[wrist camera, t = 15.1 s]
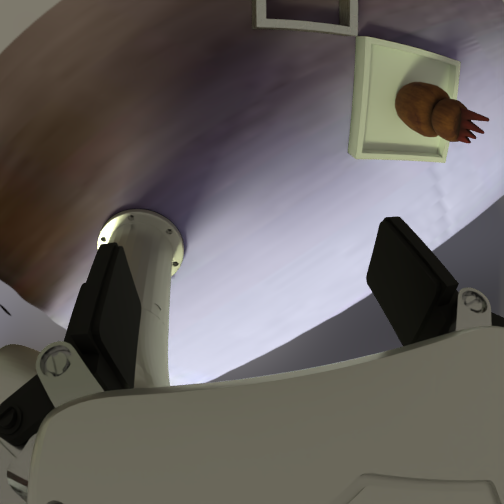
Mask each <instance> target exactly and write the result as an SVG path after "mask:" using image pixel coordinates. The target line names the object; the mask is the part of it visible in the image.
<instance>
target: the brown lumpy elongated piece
mask: <svg viewBox="0 0 504 504" xmlns="http://www.w3.org/2000/svg"><path fill="white" fill-rule="evenodd" d="M395 109H396V112H397V115H398V117H399V118H400V119H401V120H402V121H403V122H404V123H405V124H406V125H407V126H408V127H409V128H410V129H412V130H413V131H415V132H417V133H419V134H421V135H423V136H424V137H437V136H440V137H441V138H443V139H445V140H447V141H450V142H458V141H461V142H464V143H471V141H470V140H469V138H468V137H470V138H473V139H476V136H475V135H474V134H473V133H472V132H471V131H470V130H472V131H475V132H478V133H481V134H484V131H483V130H482V129H480V128H479V127H478V126H476V125H475V124H474V123H473V122H471V120H478V121H489V118H487V117H484V116H482V115H480V114H477V113H475V112H473V111H470V110H468V109H467V108H466V107H465V106H464V105H463V104H462V103H461V102H460V101H458V100H455V99H450V97H449V95H448V93H447V92H445V91H444V90H443V89H442V88H440V87H439V86H437V85H433V84H429V83H424V82H411V83H409V84H406V85H404V86H403V87H402V88H401V89H400V90H399V91H398V93H397V95H396V99H395Z"/></svg>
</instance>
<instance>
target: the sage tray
mask: <svg viewBox="0 0 504 504" xmlns="http://www.w3.org/2000/svg"><path fill="white" fill-rule="evenodd" d="M460 63H461V62H459V61H456V60H453V59H450V58H448V57H445V56H441V55H438V54H435V53H432V52H429V51H425V50H422V49H418V48H415V47H411V46H407V45H403V44H399V43H395V42H391V41H386V40H382V39H377V38H372V37H367V36H356V51H355V72H354V88H353V101H352V114H351V125H350V135H349V145H348V153H349V154H350V155H351V156H353V157H354V158H355V159H382V160H409V161H427V162H441V163H445V161H446V157H447V152H448V147H449V142H450V141H447V140H445V139H443V138H441V137H440V136H437V137H424V136H423V135H421V134H419V133H417V132H415V131H413V130H412V129H410V128H409V127H408V126H407V125H406V124H405V123H404V122H403V121H402V120H401V119H400V118H399V117H398V115H397V112H396V109H395V99H396V95H397V93H398V91H399V90H400V89H401V88H402V87H403V86H404V85H406V84H409V83H411V82H424V83H429V84H433V85H437V86H439V87H440V88H442V89H443V90H444V91H445V92H447V93H448V95H449V97H450V99H455V100H457V92H458V84H459V74H460Z"/></svg>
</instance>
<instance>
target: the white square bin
mask: <svg viewBox="0 0 504 504" xmlns="http://www.w3.org/2000/svg"><path fill="white" fill-rule="evenodd" d="M252 29H272V30H293V31H306V32H317V33H326V34H334V35H341V36H358V0H339V25H334V24H327V23H318V22H309V21H297V20H282V19H266V0H252Z"/></svg>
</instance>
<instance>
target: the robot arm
mask: <svg viewBox="0 0 504 504" xmlns="http://www.w3.org/2000/svg"><path fill="white" fill-rule="evenodd" d="M131 215H133V216H131ZM97 247H98V251H97V254H96V256H95V259H94V262H93V264H92V267H91V270H90V273H89V276H88V278H87V281H86V283H84V284H82V286H81V288H80V291H79V294H78V297H77V300H76V303H75V306H74V309H73V312H72V315H71V319H70V322H69V325H68V329H67V332H66V336H65V339H64V342H61V341H59V342H54V343H51V344H50V345H48V346H46V347H45V348H44V349H43V350H42V351H41V352H39V351H37V350H34V349H31V348H28V347H25V346H22V345H16V344H10V345H6V346H4V347H2V348H0V504H504V318H503V317H501V316H498V315H496V314H494V313H492V312H491V306H490V303H489V301H488V299H487V298H486V297H485V295H483V294H482V293H481V292H480V291H478V290H475V289H472V288H463V289H461V290H460V292H459V293H458V291H457V290H456V288H457V286H458V282H457V281H456V280H455V279H454V277H453V276H452V275H451V274H450V272H449V271H448V270H447V269H446V268H445V266H444V265H443V264H442V263H441V262H440V261H439V260H438V258H437V257H436V256H435V255H434V254H433V253H432V251H431V250H430V249H429V248H428V247H427V246H426V245H425V243H424V242H423V241H422V240H421V239H420V238H419V237H418V236H417V235H416V233H415V232H414V231H413V230H412V229H411V228H410V227H409V226H408V225H407V224H406V223H405V222H404V221H403V220H402V219H401V218H400V217H386V218H384V220H383V221H382V222H381V223H380V225H379V229H378V233H377V237H376V241H375V245H374V249H373V253H372V257H371V261H370V265H369V268H368V272H367V276H366V280H367V284H368V286H369V287H370V289H371V291H372V292H373V294H374V296H375V297H376V299H377V301H378V302H379V304H380V306H381V308H382V309H383V311H384V313H385V315H386V316H387V318H388V320H389V322H390V323H391V325H392V327H393V329H394V331H395V332H396V334H397V336H398V338H399V340H400V341H401V343H402V345H403V347H400V348H396V349H392V350H388V351H384V352H380V353H377V354H372V355H368V356H365V357H360V358H356V359H351V360H347V361H343V362H338V363H333V364H329V365H324V366H319V367H313V368H308V369H303V370H297V371H292V372H285V373H279V374H273V375H267V376H260V377H254V378H245V379H238V380H229V381H222V382H211V383H201V384H189V385H178V386H170V382H169V371H168V333H169V307H170V288H171V276H172V275H174V274H175V273H176V272H177V270H178V269H179V267H180V266H181V263H182V261H183V256H184V244H183V239H182V237H181V234H180V232H179V231H178V229H177V228H176V226H175V225H174V224H173V223H172V222H171V221H170V220H168V219H167V218H165V217H164V216H162V215H160V214H158V213H156V212H153V211H149V210H144V209H131V210H126V211H122V212H120V213H118V214H116V215H114V216H112V217H111V218H110V219H109V220H108V221H107V222H106V223H105V224H104V226H103V228H102V230H101V232H100V234H99V237H98V244H97Z"/></svg>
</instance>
